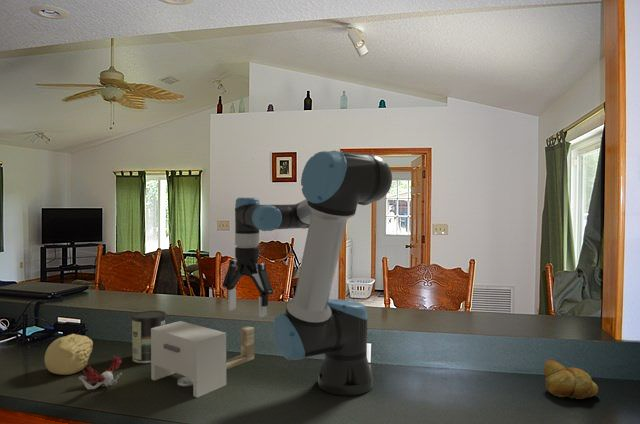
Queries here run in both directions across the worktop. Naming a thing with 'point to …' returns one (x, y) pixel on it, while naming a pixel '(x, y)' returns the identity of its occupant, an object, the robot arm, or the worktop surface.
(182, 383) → the steel token
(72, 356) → the sculpture
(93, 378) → the figurine
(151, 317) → the coffee can
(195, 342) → the cabinet
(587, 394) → the bread roll
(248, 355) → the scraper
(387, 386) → the worktop surface
